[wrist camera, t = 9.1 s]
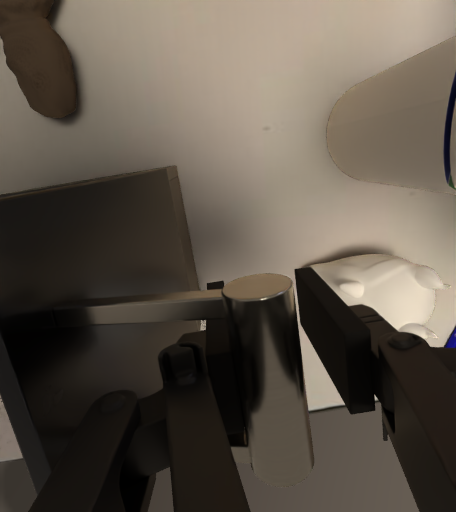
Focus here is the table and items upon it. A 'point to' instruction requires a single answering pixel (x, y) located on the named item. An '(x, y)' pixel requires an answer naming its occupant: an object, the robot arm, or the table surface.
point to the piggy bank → (386, 288)
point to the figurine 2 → (38, 57)
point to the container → (401, 124)
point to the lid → (133, 322)
